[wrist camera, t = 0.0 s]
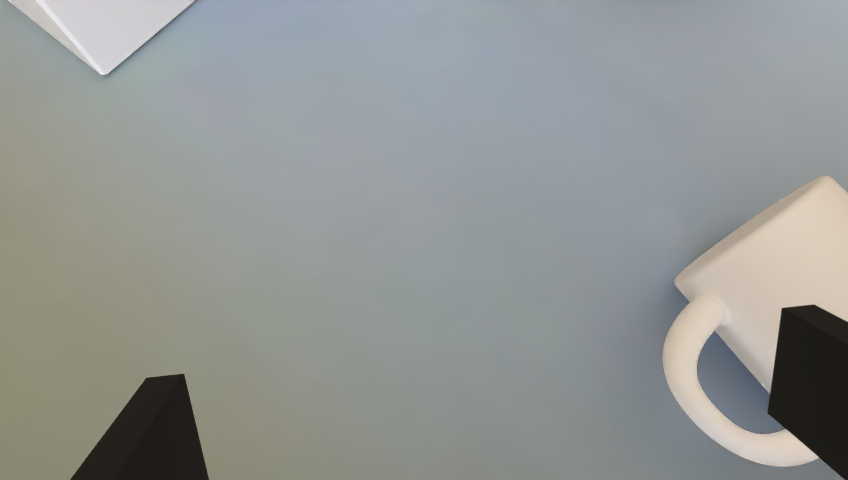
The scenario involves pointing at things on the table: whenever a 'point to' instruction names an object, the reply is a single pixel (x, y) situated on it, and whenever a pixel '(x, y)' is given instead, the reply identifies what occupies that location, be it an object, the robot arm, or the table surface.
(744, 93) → the table surface
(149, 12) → the gable box
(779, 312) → the mug
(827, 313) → the robot arm
